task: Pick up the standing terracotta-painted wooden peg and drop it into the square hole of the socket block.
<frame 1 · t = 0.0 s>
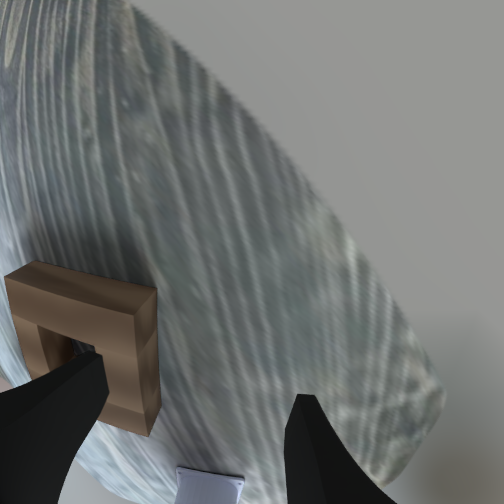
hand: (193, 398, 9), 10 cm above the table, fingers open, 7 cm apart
socket block: (94, 338, 21), on the table
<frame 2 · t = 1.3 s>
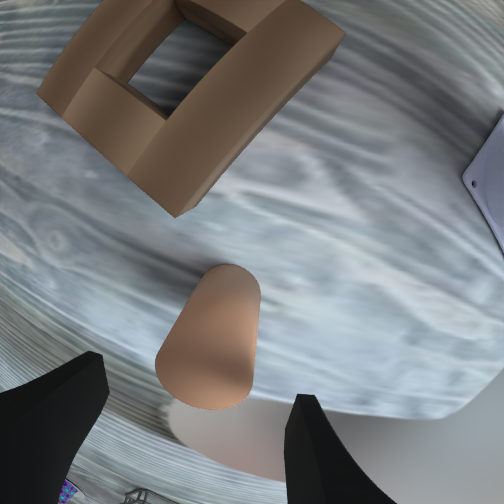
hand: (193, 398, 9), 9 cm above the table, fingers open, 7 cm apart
peg: (228, 294, 18), on the table
pudding: (61, 479, 34), on the table
socket block: (186, 69, 15), on the table
geometric lantern: (156, 503, 30), on the table
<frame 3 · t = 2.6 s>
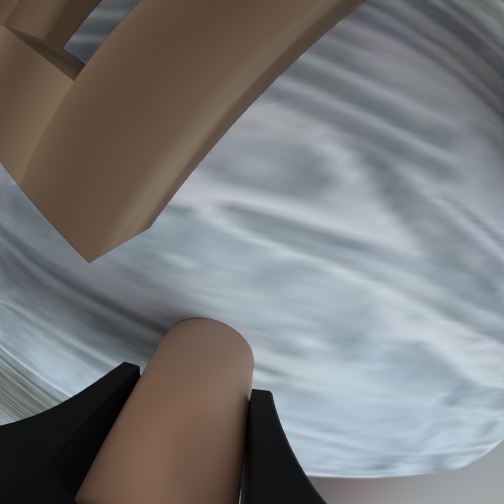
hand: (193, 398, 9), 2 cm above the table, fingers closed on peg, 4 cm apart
peg: (206, 359, 12), on the table, touching gripper
socket block: (141, 17, 8), on the table
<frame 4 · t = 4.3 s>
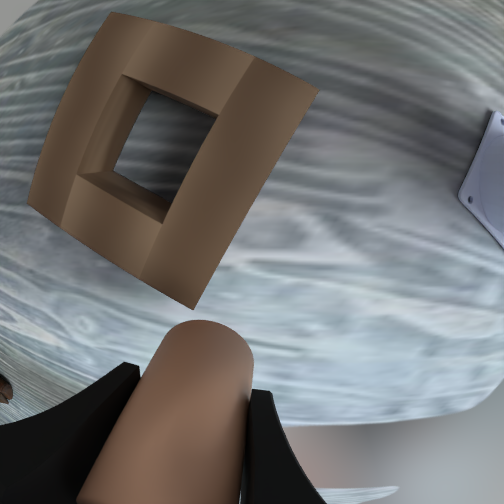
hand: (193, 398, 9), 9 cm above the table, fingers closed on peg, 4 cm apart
peg: (206, 360, 12), point 7 cm above the table, touching gripper
socket block: (167, 148, 16), on the table
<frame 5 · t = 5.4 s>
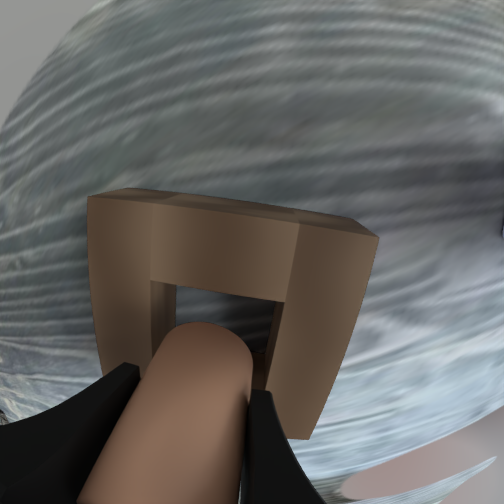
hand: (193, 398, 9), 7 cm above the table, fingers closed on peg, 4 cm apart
peg: (205, 361, 12), point 5 cm above the table, touching gripper
wristwatch: (4, 417, 25), on the table
socket block: (223, 307, 16), on the table
when the fingers open (5 cm above the table, at t = 6.2 s): peg drops 3 cm, resting in socket block.
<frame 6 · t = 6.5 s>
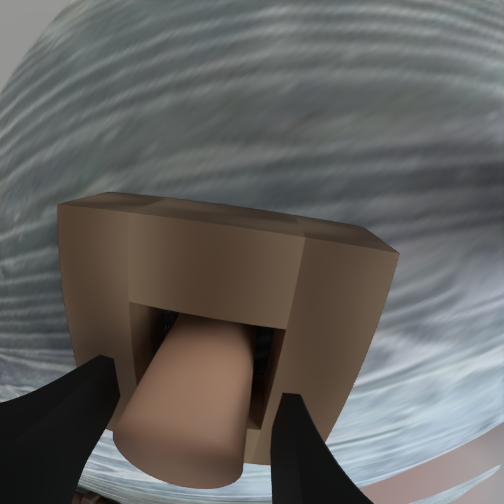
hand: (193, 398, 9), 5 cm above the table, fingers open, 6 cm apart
peg: (217, 328, 14), resting in socket block
bolt: (84, 489, 25), on the table
socket block: (216, 326, 14), on the table
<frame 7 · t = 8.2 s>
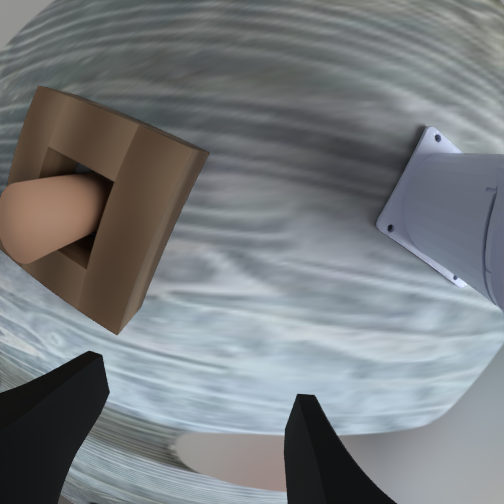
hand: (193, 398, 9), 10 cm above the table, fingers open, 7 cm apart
peg: (98, 200, 18), resting in socket block
socket block: (98, 198, 18), on the table
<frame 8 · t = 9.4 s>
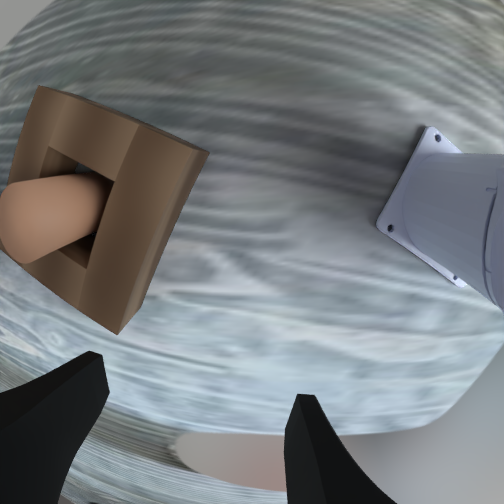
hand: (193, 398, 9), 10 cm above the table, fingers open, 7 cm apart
peg: (98, 199, 18), resting in socket block
socket block: (98, 197, 18), on the table
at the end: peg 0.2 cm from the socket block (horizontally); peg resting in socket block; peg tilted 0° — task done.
